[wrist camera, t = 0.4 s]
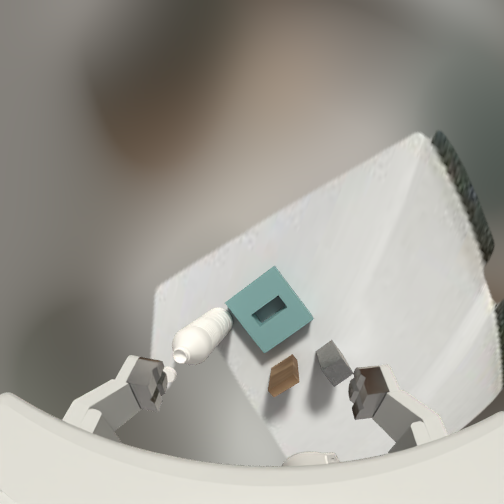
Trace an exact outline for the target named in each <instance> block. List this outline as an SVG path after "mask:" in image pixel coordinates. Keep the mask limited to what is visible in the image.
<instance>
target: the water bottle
mask: <svg viewBox="0 0 504 504" xmlns="http://www.w3.org/2000/svg"><path fill="white" fill-rule="evenodd" d="M232 325H233V319H232V316H231V314H230V313H229V312H228V311H227V310H225V309H222V308H214V309H212V310H210V311H209V312H207V313H206V314H204V315H203V316H201V317H200V318H198V319H196V320H195V321H194V322H192V323H191V324H189V325H188V326H186V327H185V328H183V329H181V330H180V331H178V332H177V333H176V335H175V336H174V339H173V342H172V348H173V358H174V360H175V361H176V362H178V363H185V364H188V365H197V364H200V363H202V362H204V361H205V360H206V359H207V358H208V356H209V355H210V354H211V352H212V351H213V350H214V349H215V348H216V346H217V345H218V344H219V343H220V342H221V341H222V339H223V338H224V337H225V336H226V335H227V333H228V332H229V331H230V330H231V328H232ZM163 371H164V372H165V373H166V375H167V381H168V383H170V382H173V381H174V380H175V379H176V377H177V375H176V371H175V370H174V369H173V368H171V367H165V368H164V369H163Z"/></svg>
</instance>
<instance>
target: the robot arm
mask: <svg viewBox="0 0 504 504" xmlns="http://www.w3.org/2000/svg"><path fill="white" fill-rule="evenodd" d="M163 369H164V364H163V361H160V360H154V359H149V358H143V357H137V356H133V355H130V356H128V357H127V359H126V361H125V363H124V364H123V366H122V368H121V370H120V372H119V374H118V375H117V377H116V379H115V380H113V379H112V380H110V381H108V382H106V383H105V384H103V385H101V386H99V387H98V388H96V389H94V390H92V391H90V392H89V393H87V394H85V395H83V396H81V397H80V398H78V399H76V400H74V401H73V403H72V405H71V406H70V408H69V409H68V411H67V413H66V415H65V417H64V418H63V420H60V419H58V418H56V417H54V416H52V415H50V414H48V413H46V412H44V411H42V410H40V409H38V408H37V407H35V406H33V405H31V404H30V403H28V402H26V401H24V400H23V399H21V398H19V397H18V396H16V395H14V394H12V393H9V392H7V393H3V394H1V395H0V504H504V411H500V412H498V413H496V414H495V415H492V416H491V417H488V418H487V419H484V420H482V421H480V422H478V423H476V424H474V425H472V426H470V427H467V428H465V429H463V430H460V431H458V432H455V433H453V434H450V435H448V434H447V431H446V429H445V427H444V424H443V422H442V420H441V418H440V415H439V414H437V413H436V412H434V411H433V410H432V409H430V408H429V407H427V406H426V405H424V404H423V403H421V402H420V401H419V400H417V399H416V398H414V397H413V396H411V395H410V394H408V393H407V392H406V391H404V390H400V387H399V385H398V383H397V381H396V378H395V376H394V374H393V372H392V370H391V367H390V366H389V365H388V364H387V365H378V366H368V367H358V368H356V369H355V371H354V373H353V374H354V378H353V379H352V380H351V381H350V384H349V391H348V392H349V398H350V401H351V402H353V403H354V405H353V407H352V411H353V415H354V419H355V420H357V419H366V418H372V419H373V420H374V421H375V422H376V423H377V424H378V425H379V426H380V427H381V428H382V429H383V430H384V431H385V432H386V433H387V434H388V435H389V436H390V437H391V438H392V439H393V440H394V441H395V442H396V444H395V445H394V446H393V447H392V448H391V449H390V451H389V452H388V454H384V455H380V456H375V457H370V458H364V459H358V460H352V461H346V462H340V461H339V460H338V458H337V456H336V454H335V453H333V452H330V453H319V452H303V453H298V454H295V455H293V456H291V457H289V458H288V459H287V460H286V461H285V462H284V463H283V464H282V466H281V467H280V466H279V467H278V466H275V467H274V466H244V465H230V464H220V463H210V462H203V461H196V460H190V459H184V458H179V457H174V456H169V455H164V454H159V453H155V452H151V451H147V450H143V449H139V448H136V447H132V446H128V445H126V444H122V443H121V441H120V439H119V438H118V436H117V435H116V434H115V432H114V431H115V430H117V429H118V428H119V427H120V426H122V425H123V424H124V423H125V422H126V421H128V420H129V419H130V418H131V417H133V416H134V415H135V414H136V413H137V412H139V411H140V410H141V409H144V410H150V411H154V412H159V409H160V406H161V403H162V398H161V396H162V395H163V394H165V392H166V389H167V383H168V381H167V375H166V373H165V372H164V371H163ZM332 458H333V459H332Z"/></svg>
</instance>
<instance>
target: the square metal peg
mask: <svg viewBox="0 0 504 504" xmlns="http://www.w3.org/2000/svg"><path fill="white" fill-rule="evenodd" d="M316 353H317V356H318V360H319V363H320V366H321V369H322V372H323V373H324V374H325V376H326V377H327V378H328V379H329V381H330V382H331V383H332V384H333V386H334V387H335V386H336V385H338V384H339V383H341V382H342V381H343V380H345V379H346V378H348V377H349V376H351V375H352V374H353V372H352V370H351V368H350V367H349V365H348V363H347V361H346V360H345V358H344V356H343V355H342V353H341V352H340V350H339V349H338V348H337V346H336V345H335V344H334V342H333V341H332V340H331V341H330V342H328V343H327V344H325V345H324V346H323V347H321V348H320V349H318V350H317V351H316Z"/></svg>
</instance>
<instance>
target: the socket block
mask: <svg viewBox="0 0 504 504" xmlns="http://www.w3.org/2000/svg"><path fill="white" fill-rule="evenodd" d="M278 295H279V297H280V298H281V299H282V301H283V302H284V303H285V305H286V306H284V307H283V308H282V309H280V310H279V311H277V312H276V313H275V314H273V315H272V316H270V317H269V318H268V319H266V320H265V321H263V322H262V323H261V321H260V320H259V319H258V317H257V316H256V315H255V312H256V311H257V310H259V309H260V308H262V307H263V306H264V305H266V304H267V303H268V302H270V301H271V300H273V299H274V298H275V297H277V296H278ZM225 304H226V305H227V306H228V308H229V309H230V310H231V311H232V313H233V314H234V315H235V317H236V318H237V319H238V321H239V322H240V323H241V325H242V326H243V327H244V328H245V330H246V331H247V332H248V334H249V335H250V336H251V337H252V339H253V340H254V341H255V342H256V344H257V345H258V346H259V348H260V349H261V350H262V351H263V353H266V352H267V351H269V350H270V349H272V348H273V347H275V346H276V345H278V344H279V343H281V342H282V341H283V340H285V339H286V338H288V337H289V336H291V335H292V334H294V333H295V332H296V331H298V330H299V329H301V328H302V327H303V326H305V325H306V324H307V323H309V322H310V321H312V320H313V316H312V315H311V313H310V312H309V311H308V309H307V308H306V307H305V305H304V304H303V303H302V301H301V300H300V299H299V297H298V296H297V295H296V293H295V292H294V291H293V289H292V288H291V287H290V285H289V284H288V283H287V281H286V280H285V279H284V277H283V276H282V275H281V273H280V272H279V271H278V269H277V268H276V267H275V266H273V267H272V268H271V269H269V270H268V271H267V272H265V273H264V274H263V275H261V276H260V277H259V278H257V279H256V280H255V281H253V282H252V283H251V284H249V285H248V286H247V287H245V288H244V289H243V290H241V291H240V292H239V293H237V294H236V295H235V296H233V297H232V298H231V299H229V300H228V301H227V302H225Z"/></svg>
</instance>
